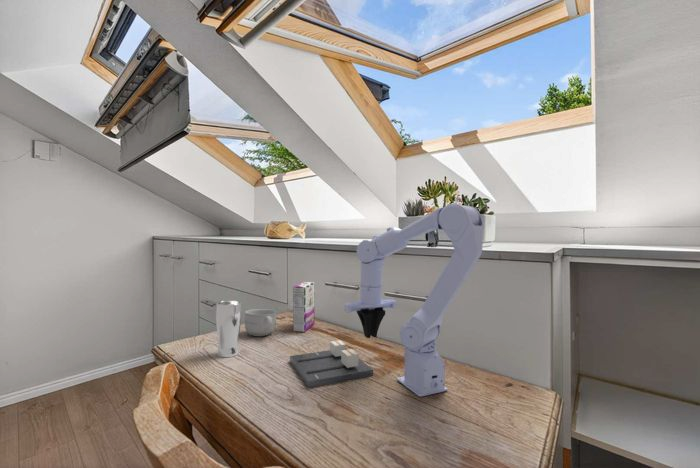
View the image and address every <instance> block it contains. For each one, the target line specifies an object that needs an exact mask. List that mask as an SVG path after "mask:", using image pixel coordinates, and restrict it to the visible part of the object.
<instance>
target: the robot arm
mask: <svg viewBox="0 0 700 468" xmlns="http://www.w3.org/2000/svg"><path fill="white" fill-rule="evenodd" d="M484 227H485V222H484V220H483V218H482V215H481V213H480V212H479V210H478V209H477V208H475V207H474V206H471V205H462V204H459V203H454V202H453V203H449V204H446V205H445V206H443V207H440V208H437V209H435V210H433V211H432V212H430V213H428V214H427V215H425V216H423V217H420V218H419V219H417V220H416V221H414V222H412V223H409V225H407V226H405V227H404V228H402V229H401V228H399V227H392V226H389V227H388V228H386V231H385V232H383V233H381V234H379V235H374V236H372V239H371V240H368V239H365V240H364V239H363V240H362V241H361V242H360V243H359V244H357V247H356V256H357V258H358V260H359V261H360V291H359V293H360V295H359V297H360V298H359V299H360V300H357V301H354V302H353V301H352V302H349V303H348V302H346V303H344V312H346V313H351V312H356V314H357V315H358V318H359V320H360V322H361V323H360V324H361V327H362V330H363V334H364V337H365V338H367V339H371V336H372V337H373V338H377V336H378V331H379V327H380V325H381V323H382V321H383V319H384V317H385V316H386V310H384V309H389V308H392V309H396V308H397V300H395V299H383V266H384V261H385V259H386V258H387V257H389V256H390V255H393V254H395V253H397V252H400V251H402V250H404V249H405V248H406V247H407V246H408V242H409V241H411V240H414V239H417V238H418V237H421V236H423V235H425V234H428V233H430V232H433V231H436V230H443V231H444V233H445V234H446V235H447V237H448V238H449V240H450V242H451V244H452V248H453V251H454V252H453V254H452V255H451V257H450V258H449V260H448V261H447V264H446V266H445V267H444V268H443V270H442V272H441V274H440V275H439V278H437V281H435V284H434V286H433V288H432V289H431V291H430V292H429V294H428V296H427V298H426V299H425V301H424V302H423V304H422V306H421V307H420V309H418V310H417V311H416V312H415V313H414V315H412V317H411V318H410V319H409V321H407V322H405V323H404V324H403V325H402V326H401V327H400V330H399V339H400V341H401V344H402V345H403V346H404V370H403V371H404V373H403V374H404V375H403V376H399V377H396V381H398V382H399V383H401V384H402V385H403V386H404V387H406V388H407V389H409V390H410V391H411V392H413V393H414V395H416V396H418V397H425V396H431V395H434V394H435V395H436V394H438V393H443V392H446V391H448V388H447V387H446V386H445V385H446V383H445V381H446V377H445V376H446V364H445V360H444V359H443V357H441V355H440V354H439V353H438V351H437V349H436V347H437V345H436V340H437V339H438V338H439V337H440V334H441V327H442V324H443V323H444V316H445V315H446V312H447V311H448V309H449V307H450V306H451V305H452V302H453V301H454V299H455V298H456V297H457V295H458V293H459V291H460V290H461V288H462V286H463V285H464V283H465V281H467V278H468V277H469V275H470V274H471V272H472V271H473V269H474V267H475V266H476V264H477V263H478V262H479V260H480V257H481V256H482V254H483V229H484Z"/></svg>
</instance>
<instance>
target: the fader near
mask: <svg viewBox="0 0 700 468" xmlns="http://www.w3.org/2000/svg"><path fill="white" fill-rule="evenodd" d="M346 349H347V350H342V351H341V362H342V363H343V364H344V365H345V366H346V367H347V368H349V367H355V366H358V358H359V354H358V353H357V352H356V351H355V350H353V348H349V349H348V348H346Z"/></svg>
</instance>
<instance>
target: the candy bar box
mask: <svg viewBox="0 0 700 468" xmlns="http://www.w3.org/2000/svg"><path fill="white" fill-rule="evenodd" d="M292 308H293V309H292V314H293V315H292V319H293V320H292V326H293V327H292V330H293V332H295V331H299V332H298V333H307V331H309V330H310V328H312V325H313V326H314V325H315V282H314V281H302V282H301V283H299V284H298V283H297V284H296V285H294V286H293V287H292Z"/></svg>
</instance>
